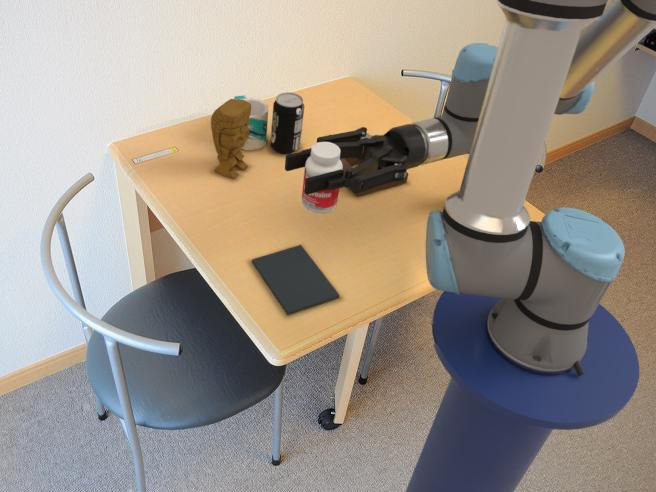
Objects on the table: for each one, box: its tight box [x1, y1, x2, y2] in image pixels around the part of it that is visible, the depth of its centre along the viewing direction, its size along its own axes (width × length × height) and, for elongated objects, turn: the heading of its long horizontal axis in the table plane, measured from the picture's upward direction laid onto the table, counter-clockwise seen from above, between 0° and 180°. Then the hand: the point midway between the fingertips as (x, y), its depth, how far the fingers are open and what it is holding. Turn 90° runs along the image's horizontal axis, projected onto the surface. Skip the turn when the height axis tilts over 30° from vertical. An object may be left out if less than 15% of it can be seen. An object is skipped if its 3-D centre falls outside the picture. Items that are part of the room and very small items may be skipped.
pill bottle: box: [301, 142, 343, 215], centre depth 109 cm, size 6×6×11 cm
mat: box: [251, 244, 340, 316], centre depth 115 cm, size 14×10×1 cm
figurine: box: [210, 98, 251, 180], centre depth 134 cm, size 7×7×15 cm
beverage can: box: [270, 91, 305, 155], centre depth 141 cm, size 7×7×12 cm
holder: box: [340, 147, 409, 197], centre depth 138 cm, size 12×12×2 cm
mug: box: [233, 94, 269, 151], centre depth 145 cm, size 8×12×8 cm
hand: (296, 174), depth 106 cm, fingers closed on pill bottle, 6 cm apart
